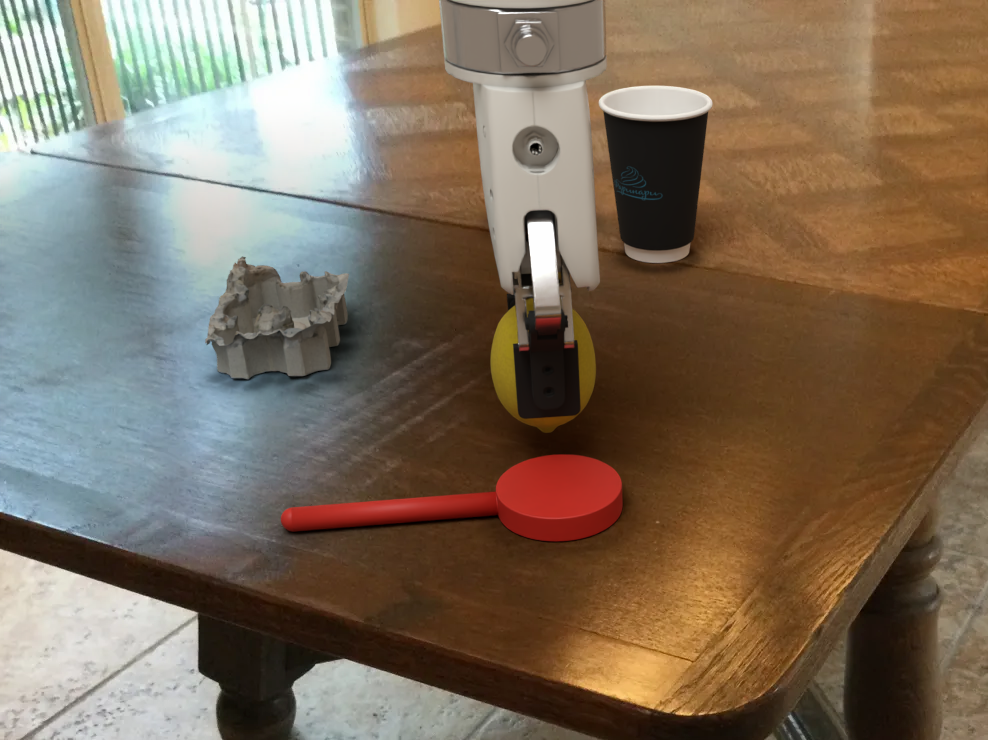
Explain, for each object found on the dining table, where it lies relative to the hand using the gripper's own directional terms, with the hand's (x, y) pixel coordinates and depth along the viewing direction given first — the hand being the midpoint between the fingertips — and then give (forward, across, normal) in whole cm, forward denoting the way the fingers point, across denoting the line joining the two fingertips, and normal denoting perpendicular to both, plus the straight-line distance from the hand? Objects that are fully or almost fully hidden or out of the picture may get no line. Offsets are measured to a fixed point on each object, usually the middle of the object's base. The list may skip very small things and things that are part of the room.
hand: (544, 383), depth 72 cm
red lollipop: (+4, -6, +5) cm, 9 cm away
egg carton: (+4, +16, +15) cm, 23 cm away
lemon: (+3, 0, 0) cm, 3 cm away
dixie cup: (+4, +29, -10) cm, 31 cm away
